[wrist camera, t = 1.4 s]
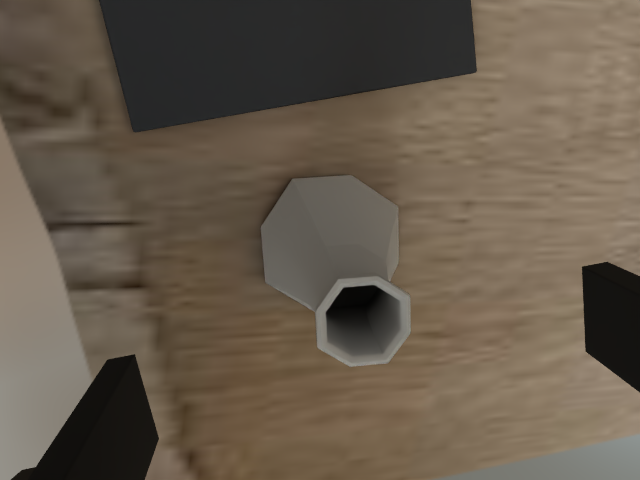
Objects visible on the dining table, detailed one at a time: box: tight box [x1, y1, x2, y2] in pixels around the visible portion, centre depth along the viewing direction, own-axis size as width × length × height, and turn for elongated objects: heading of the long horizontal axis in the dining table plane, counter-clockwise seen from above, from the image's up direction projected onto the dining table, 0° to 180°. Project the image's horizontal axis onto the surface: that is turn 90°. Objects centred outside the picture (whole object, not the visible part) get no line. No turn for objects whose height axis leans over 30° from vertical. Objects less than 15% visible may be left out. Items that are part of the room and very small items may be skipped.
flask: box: [261, 175, 411, 367], centre depth 21 cm, size 7×7×10 cm
